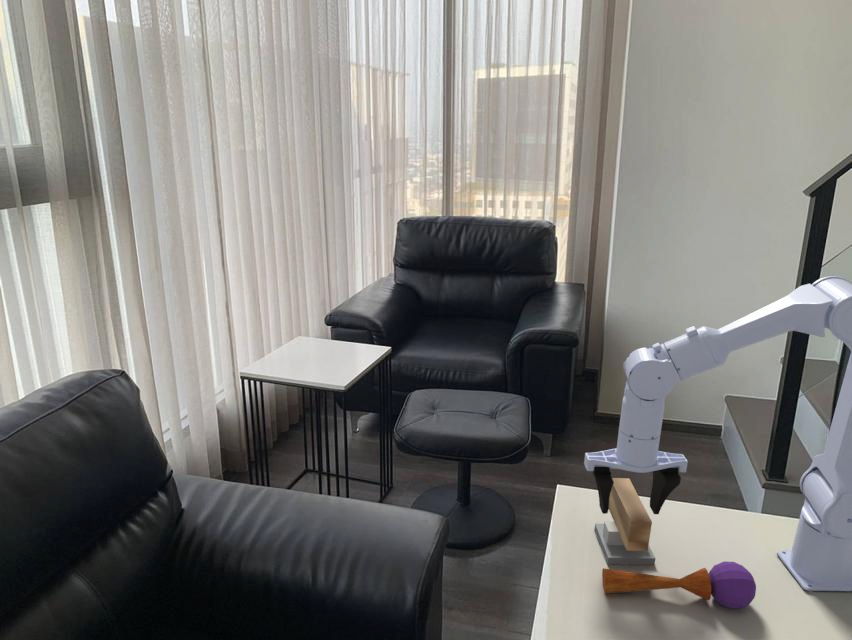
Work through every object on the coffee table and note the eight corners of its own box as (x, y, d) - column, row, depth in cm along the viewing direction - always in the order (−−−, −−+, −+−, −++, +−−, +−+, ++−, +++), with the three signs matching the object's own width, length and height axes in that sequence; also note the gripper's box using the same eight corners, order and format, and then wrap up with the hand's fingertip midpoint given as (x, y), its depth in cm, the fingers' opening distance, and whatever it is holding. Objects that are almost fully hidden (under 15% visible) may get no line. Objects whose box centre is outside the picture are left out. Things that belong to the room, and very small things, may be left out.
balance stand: (637, 530, 102) (640, 511, 101) (654, 565, 94) (657, 544, 93) (594, 529, 102) (596, 510, 101) (607, 564, 94) (610, 543, 93)
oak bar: (625, 505, 102) (629, 478, 101) (647, 550, 92) (652, 522, 90) (606, 504, 102) (610, 478, 101) (626, 550, 92) (631, 521, 90)
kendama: (600, 550, 92) (746, 553, 89) (601, 588, 93) (745, 593, 90) (607, 572, 86) (763, 576, 83) (607, 613, 87) (762, 618, 84)
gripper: (679, 417, 95) (667, 494, 100) (583, 416, 95) (575, 493, 100) (698, 441, 89) (684, 523, 93) (594, 440, 89) (585, 521, 93)
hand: (628, 509), depth 96 cm, fingers open, 7 cm apart
